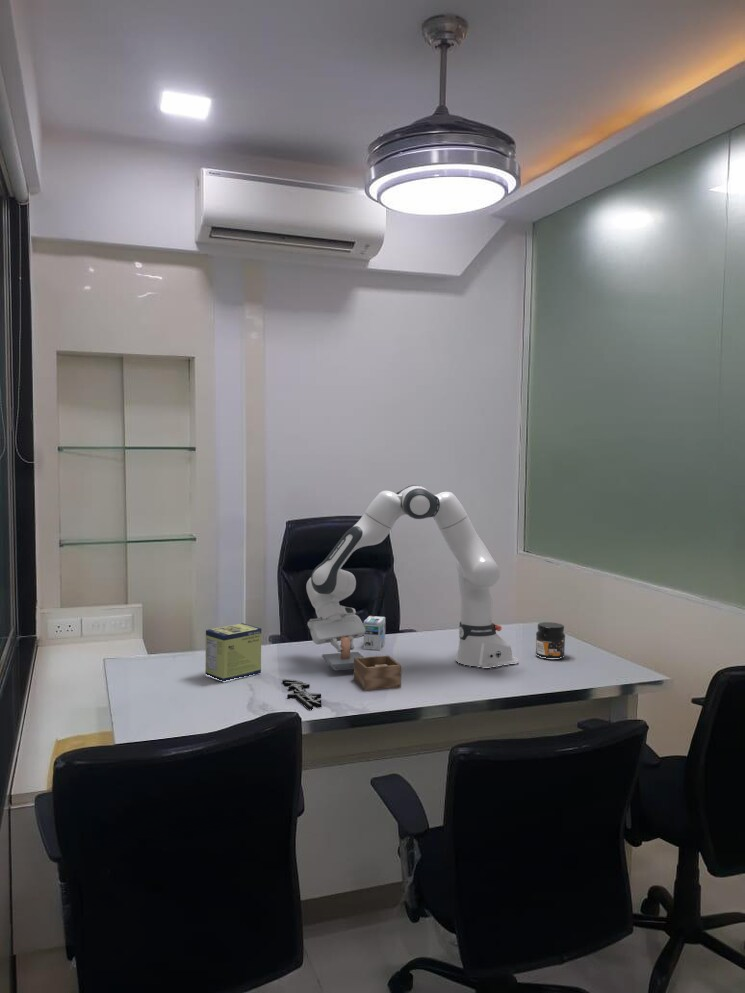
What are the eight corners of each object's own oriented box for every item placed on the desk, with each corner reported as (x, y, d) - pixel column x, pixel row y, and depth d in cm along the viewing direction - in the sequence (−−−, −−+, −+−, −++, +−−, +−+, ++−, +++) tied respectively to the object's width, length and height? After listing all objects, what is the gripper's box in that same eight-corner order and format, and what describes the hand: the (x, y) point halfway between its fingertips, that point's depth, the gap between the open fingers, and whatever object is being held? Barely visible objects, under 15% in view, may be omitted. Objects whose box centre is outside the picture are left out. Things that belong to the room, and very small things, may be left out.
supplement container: (535, 659, 275) (535, 627, 274) (535, 652, 285) (536, 620, 285) (564, 661, 273) (565, 629, 272) (564, 654, 283) (565, 622, 282)
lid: (357, 658, 266) (358, 632, 266) (369, 669, 254) (369, 641, 254) (322, 661, 262) (322, 634, 262) (332, 671, 250) (332, 643, 249)
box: (388, 676, 251) (388, 655, 251) (400, 687, 240) (401, 665, 240) (353, 679, 248) (354, 658, 247) (364, 690, 236) (365, 668, 236)
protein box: (261, 673, 252) (262, 627, 251) (223, 683, 241) (223, 635, 240) (242, 667, 259) (243, 622, 258) (204, 676, 248) (204, 629, 247)
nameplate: (271, 681, 241) (300, 677, 245) (271, 685, 241) (300, 682, 245) (302, 707, 216) (334, 703, 220) (302, 712, 216) (334, 708, 221)
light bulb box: (380, 650, 284) (380, 622, 283) (362, 649, 285) (363, 621, 285) (385, 643, 294) (385, 616, 294) (368, 642, 296) (369, 615, 295)
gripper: (309, 614, 256) (324, 649, 249) (358, 608, 269) (374, 640, 261) (302, 625, 260) (317, 659, 253) (350, 618, 273) (366, 650, 265)
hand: (346, 650), depth 257 cm, fingers closed on lid, 3 cm apart
